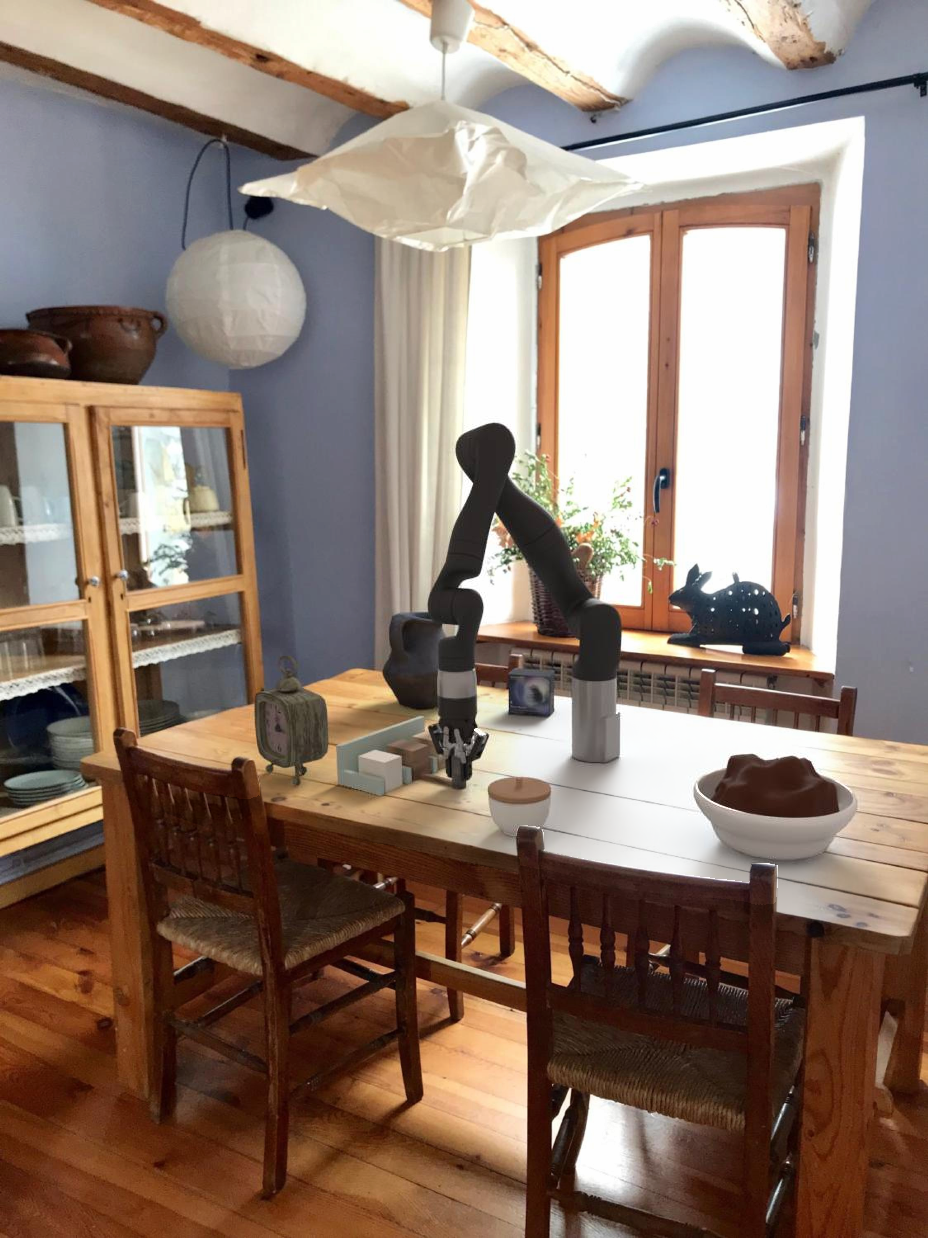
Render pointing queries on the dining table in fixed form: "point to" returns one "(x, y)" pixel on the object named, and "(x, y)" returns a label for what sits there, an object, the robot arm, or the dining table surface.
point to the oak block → (426, 739)
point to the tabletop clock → (290, 724)
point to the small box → (531, 692)
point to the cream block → (382, 767)
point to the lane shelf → (378, 741)
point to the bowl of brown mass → (774, 806)
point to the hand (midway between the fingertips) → (458, 778)
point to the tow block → (425, 762)
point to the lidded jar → (519, 803)
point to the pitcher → (414, 659)
